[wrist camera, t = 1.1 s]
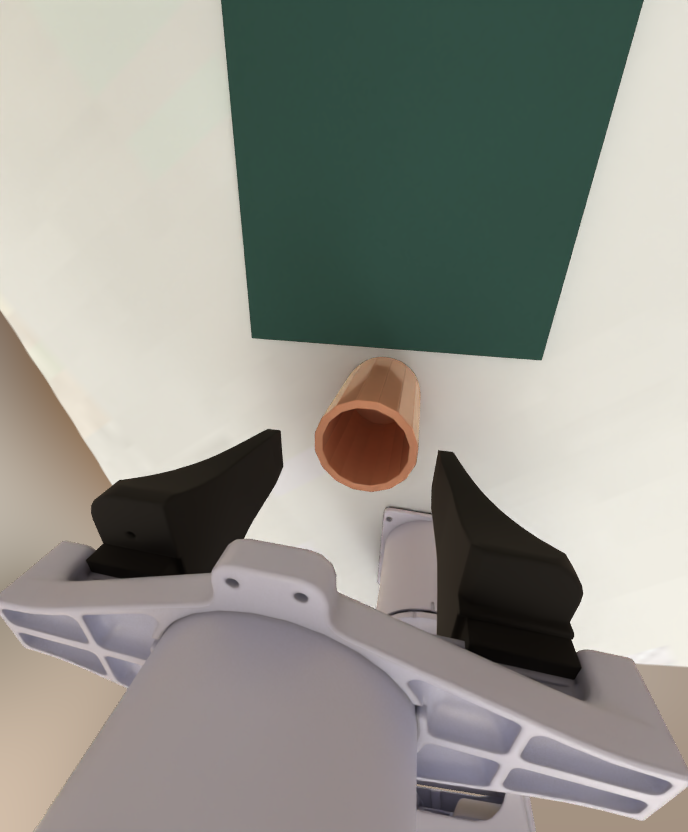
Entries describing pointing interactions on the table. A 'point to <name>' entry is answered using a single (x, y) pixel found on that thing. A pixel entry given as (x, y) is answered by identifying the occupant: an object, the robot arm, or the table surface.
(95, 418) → the table surface
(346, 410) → the brown cup
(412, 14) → the mat
